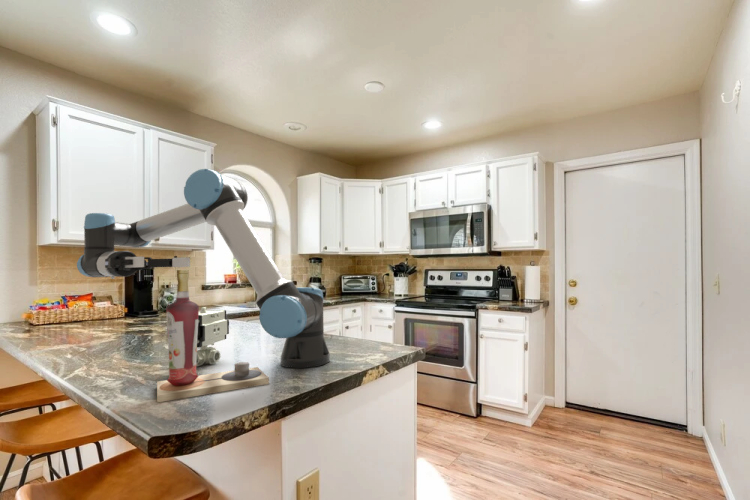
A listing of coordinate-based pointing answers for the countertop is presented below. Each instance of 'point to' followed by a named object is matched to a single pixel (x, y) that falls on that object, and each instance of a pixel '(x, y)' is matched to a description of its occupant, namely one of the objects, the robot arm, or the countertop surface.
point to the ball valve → (210, 334)
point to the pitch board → (213, 383)
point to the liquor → (182, 334)
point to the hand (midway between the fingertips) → (167, 261)
